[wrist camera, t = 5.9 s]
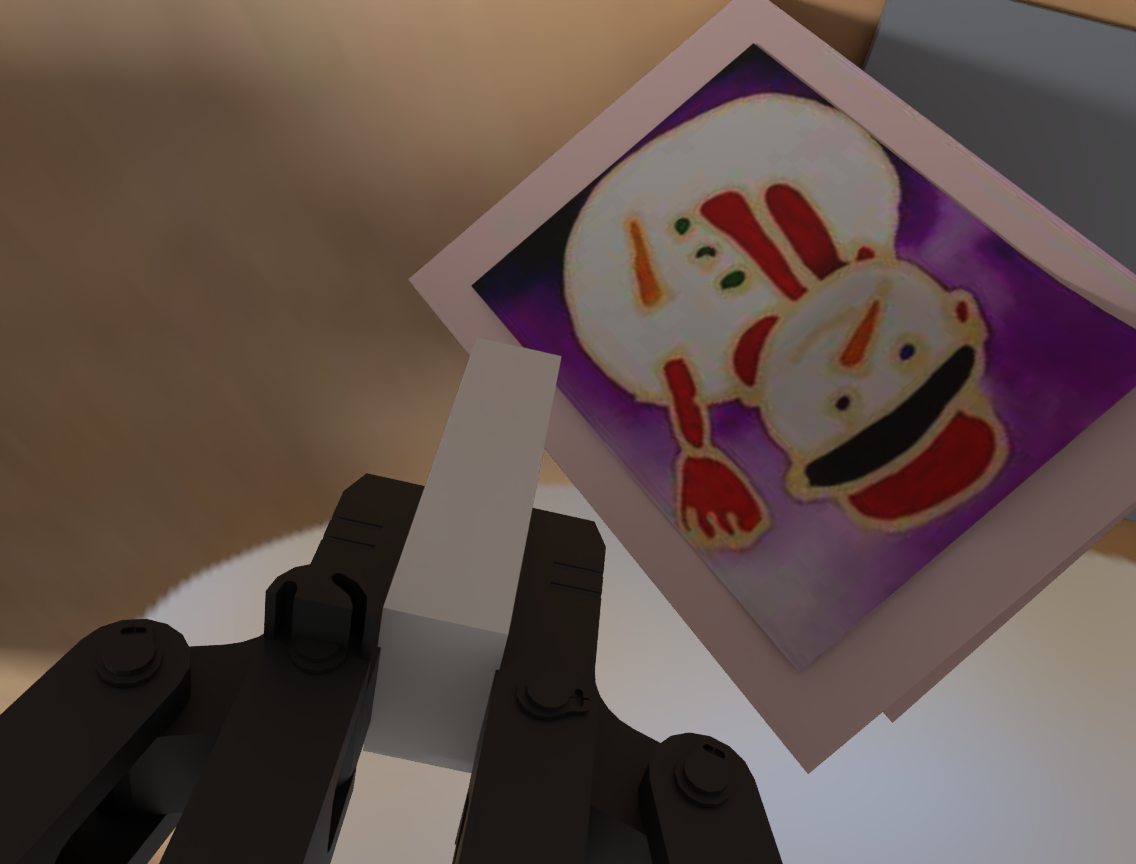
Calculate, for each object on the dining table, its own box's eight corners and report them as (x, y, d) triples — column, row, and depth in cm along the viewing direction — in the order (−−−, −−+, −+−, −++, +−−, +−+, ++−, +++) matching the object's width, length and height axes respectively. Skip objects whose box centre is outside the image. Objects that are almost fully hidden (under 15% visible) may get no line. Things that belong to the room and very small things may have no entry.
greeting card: (744, -41, 24) (1296, 363, 17) (777, 138, 31) (1184, 479, 24) (392, 263, 24) (804, 774, 18) (500, 375, 31) (828, 775, 24)
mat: (1185, 526, 33) (1190, 533, 33) (728, 422, 32) (728, 429, 32) (1493, 121, 25) (1504, 126, 25) (898, -30, 24) (900, -27, 24)
